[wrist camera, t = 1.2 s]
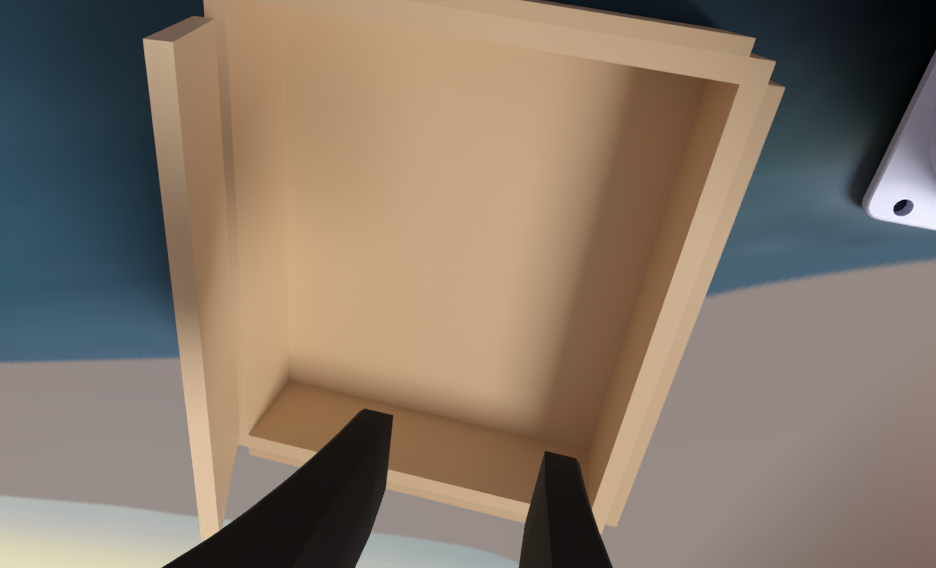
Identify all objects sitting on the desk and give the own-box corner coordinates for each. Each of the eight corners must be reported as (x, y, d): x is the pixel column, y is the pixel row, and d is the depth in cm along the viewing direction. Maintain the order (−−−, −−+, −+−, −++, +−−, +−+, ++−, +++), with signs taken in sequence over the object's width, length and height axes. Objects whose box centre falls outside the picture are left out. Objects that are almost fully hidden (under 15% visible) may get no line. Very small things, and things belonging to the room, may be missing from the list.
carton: (754, 34, 16) (801, 45, 13) (605, 464, 24) (609, 544, 21) (276, -43, 18) (199, -52, 14) (282, 388, 26) (234, 451, 22)
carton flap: (173, 42, 11) (142, 38, 11) (219, 538, 17) (201, 540, 17) (214, 18, 14) (193, 16, 14) (240, 432, 21) (225, 432, 21)
